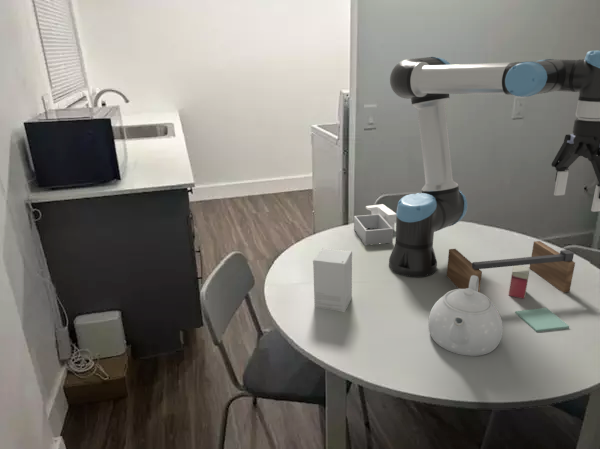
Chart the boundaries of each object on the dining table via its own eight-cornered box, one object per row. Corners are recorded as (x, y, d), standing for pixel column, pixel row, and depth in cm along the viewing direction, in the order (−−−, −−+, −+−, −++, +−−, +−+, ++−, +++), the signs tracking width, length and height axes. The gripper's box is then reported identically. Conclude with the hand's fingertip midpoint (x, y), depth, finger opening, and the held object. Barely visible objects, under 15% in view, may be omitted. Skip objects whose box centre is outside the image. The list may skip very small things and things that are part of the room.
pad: (535, 332, 116) (536, 329, 116) (515, 313, 125) (515, 311, 125) (568, 328, 118) (569, 326, 117) (546, 309, 126) (546, 307, 126)
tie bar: (475, 270, 128) (476, 262, 127) (471, 266, 130) (472, 258, 129) (572, 260, 132) (574, 253, 131) (566, 257, 134) (568, 249, 133)
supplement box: (352, 298, 135) (353, 250, 129) (345, 313, 127) (345, 264, 122) (322, 293, 138) (322, 247, 132) (313, 308, 130) (312, 260, 124)
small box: (509, 288, 137) (513, 264, 135) (525, 291, 136) (529, 266, 133) (508, 296, 133) (512, 271, 130) (524, 299, 131) (528, 274, 129)
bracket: (382, 220, 194) (365, 222, 192) (383, 204, 191) (365, 206, 189) (396, 231, 182) (378, 233, 180) (397, 214, 179) (378, 216, 177)
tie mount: (471, 302, 131) (475, 272, 127) (446, 276, 145) (449, 249, 142) (569, 291, 134) (575, 262, 131) (535, 267, 149) (539, 241, 146)
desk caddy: (365, 246, 169) (365, 231, 167) (353, 230, 184) (354, 216, 182) (392, 244, 170) (393, 228, 168) (378, 228, 185) (379, 214, 183)
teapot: (521, 351, 109) (530, 300, 105) (452, 367, 105) (458, 315, 100) (472, 311, 126) (477, 266, 121) (411, 324, 122) (414, 277, 117)
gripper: (651, 125, 101) (629, 217, 109) (570, 111, 124) (557, 188, 132) (620, 127, 100) (601, 219, 108) (545, 113, 123) (533, 190, 131)
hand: (577, 202), depth 120 cm, fingers open, 13 cm apart
